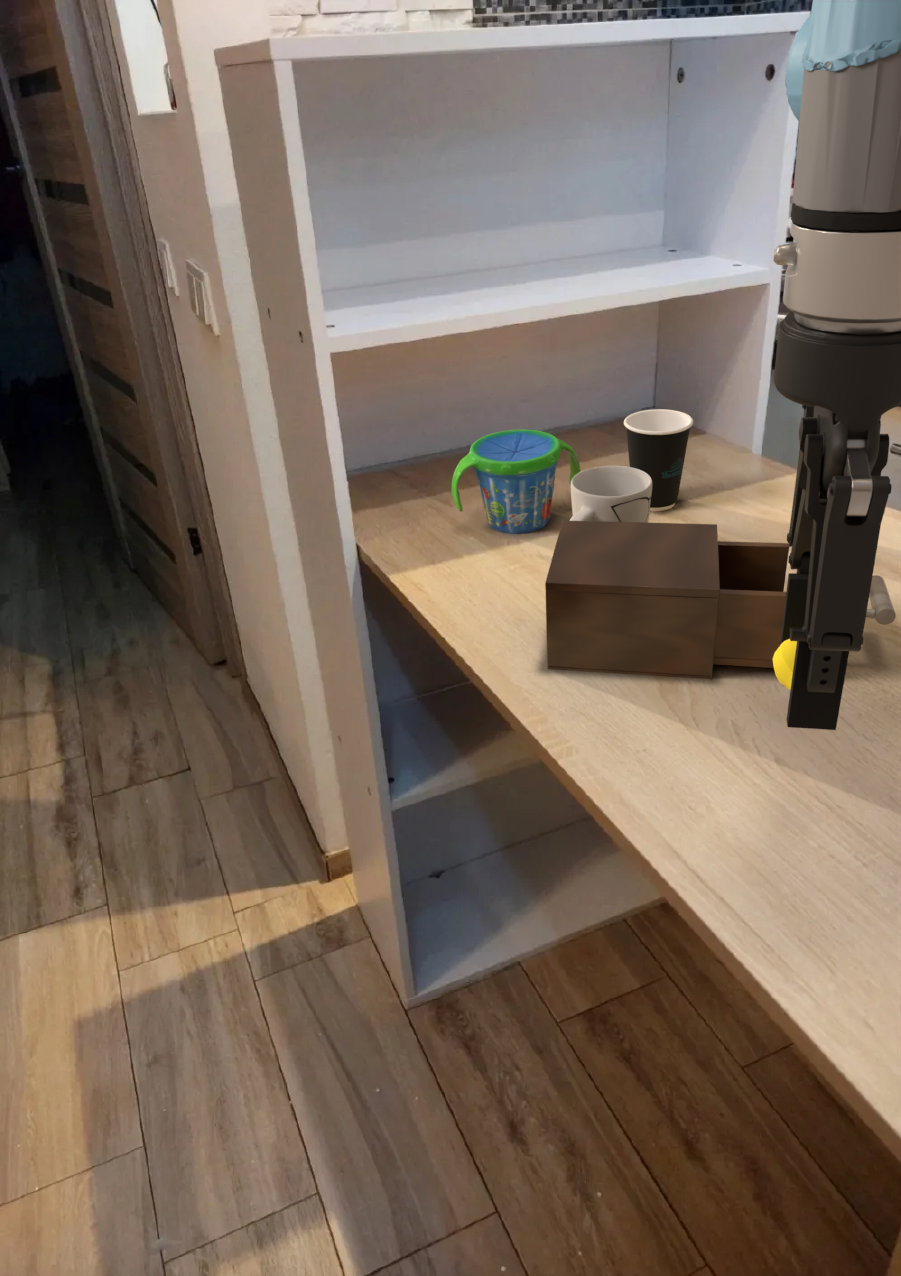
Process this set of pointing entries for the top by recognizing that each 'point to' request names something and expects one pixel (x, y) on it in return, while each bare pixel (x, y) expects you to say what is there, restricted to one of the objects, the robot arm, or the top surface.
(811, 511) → the robot arm
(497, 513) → the snack cup
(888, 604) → the drawer
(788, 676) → the light bulb
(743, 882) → the top surface
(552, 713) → the top surface
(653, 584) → the cabinet
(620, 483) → the mug
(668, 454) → the dixie cup
